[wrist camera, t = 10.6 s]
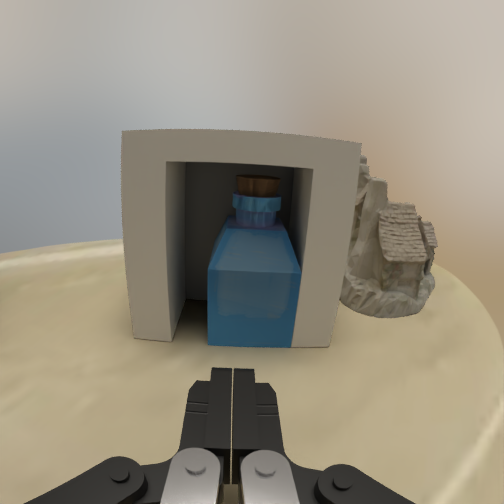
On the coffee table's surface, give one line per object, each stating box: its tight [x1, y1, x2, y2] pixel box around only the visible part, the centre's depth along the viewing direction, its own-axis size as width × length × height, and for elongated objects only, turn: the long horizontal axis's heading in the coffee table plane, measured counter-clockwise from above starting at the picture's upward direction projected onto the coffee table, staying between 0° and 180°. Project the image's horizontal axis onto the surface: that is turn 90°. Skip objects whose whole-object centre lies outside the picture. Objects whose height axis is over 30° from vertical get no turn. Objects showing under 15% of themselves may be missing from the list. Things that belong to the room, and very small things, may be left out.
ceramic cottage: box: [340, 155, 438, 318], centre depth 33 cm, size 16×16×15 cm
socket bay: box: [121, 129, 361, 347], centre depth 24 cm, size 15×9×15 cm, turn 92°
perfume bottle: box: [208, 175, 301, 348], centre depth 23 cm, size 6×6×12 cm
